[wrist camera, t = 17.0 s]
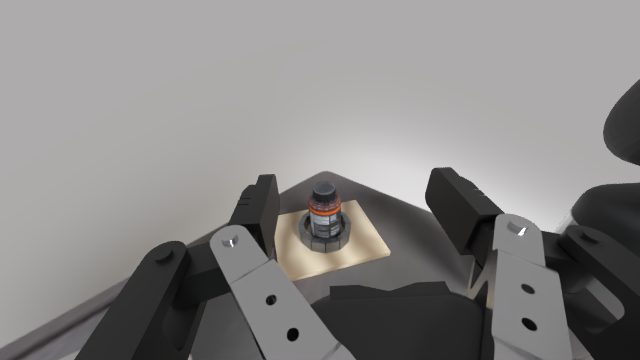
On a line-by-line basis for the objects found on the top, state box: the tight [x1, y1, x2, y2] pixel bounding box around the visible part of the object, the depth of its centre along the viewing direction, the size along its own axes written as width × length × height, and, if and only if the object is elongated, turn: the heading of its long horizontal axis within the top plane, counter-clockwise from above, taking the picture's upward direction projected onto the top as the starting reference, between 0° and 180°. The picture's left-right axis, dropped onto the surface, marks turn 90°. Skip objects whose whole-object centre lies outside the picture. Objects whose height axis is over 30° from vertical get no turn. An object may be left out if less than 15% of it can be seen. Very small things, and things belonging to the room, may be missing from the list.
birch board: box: [274, 200, 390, 281], centre depth 46 cm, size 20×16×1 cm
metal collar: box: [299, 211, 351, 254], centre depth 45 cm, size 10×10×2 cm
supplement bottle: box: [308, 181, 341, 240], centre depth 42 cm, size 6×6×11 cm
